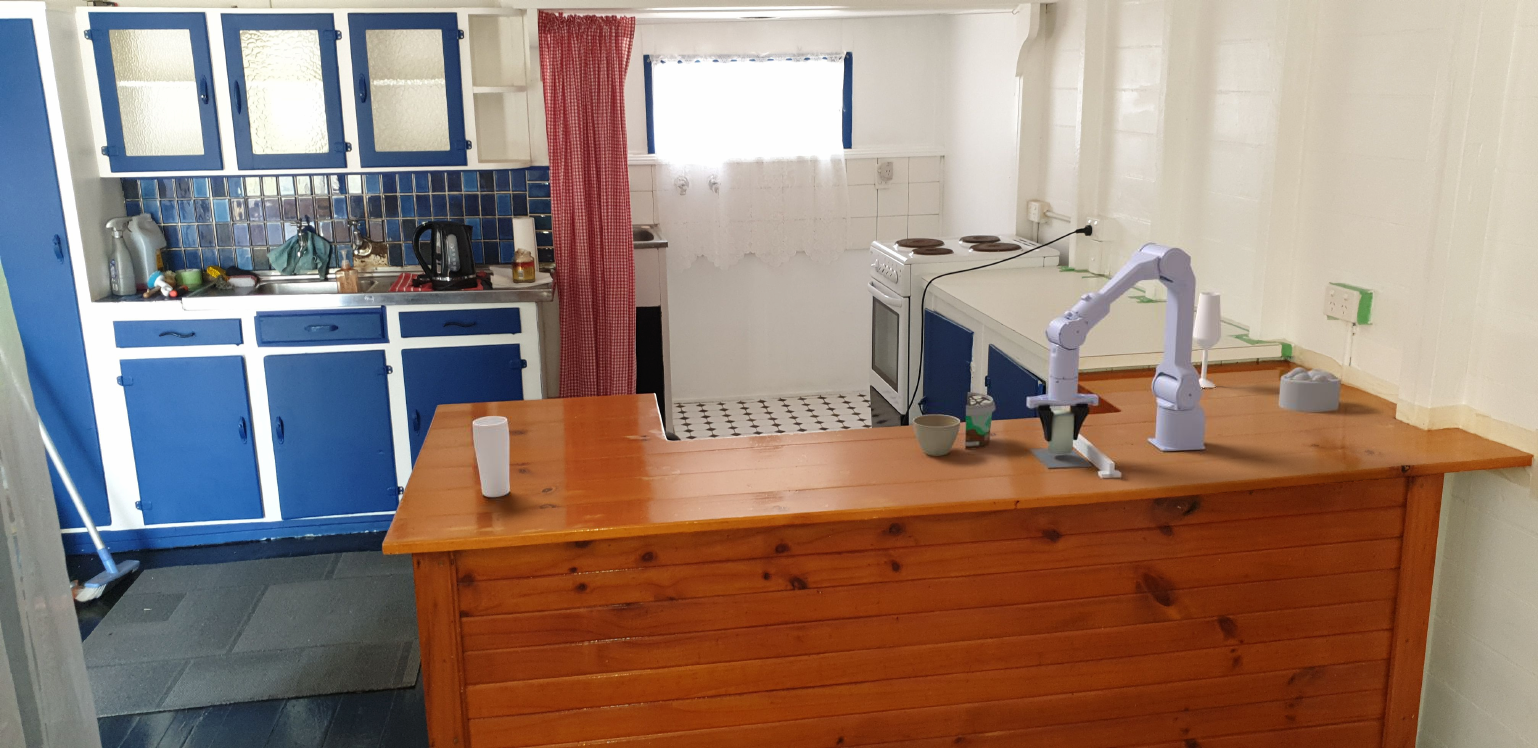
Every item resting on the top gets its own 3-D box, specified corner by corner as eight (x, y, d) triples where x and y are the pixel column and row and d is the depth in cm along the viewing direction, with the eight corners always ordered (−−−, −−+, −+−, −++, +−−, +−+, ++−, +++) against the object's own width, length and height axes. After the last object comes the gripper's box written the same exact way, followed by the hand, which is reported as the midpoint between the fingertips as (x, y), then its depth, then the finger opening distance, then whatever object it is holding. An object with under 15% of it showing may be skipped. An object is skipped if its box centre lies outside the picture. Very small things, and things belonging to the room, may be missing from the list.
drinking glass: (481, 488, 224) (475, 416, 220) (515, 486, 224) (510, 415, 220) (475, 500, 217) (469, 426, 213) (511, 498, 218) (505, 424, 214)
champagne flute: (1191, 388, 286) (1198, 295, 280) (1186, 382, 292) (1193, 291, 286) (1219, 389, 285) (1226, 296, 279) (1213, 382, 291) (1220, 291, 285)
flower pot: (965, 448, 242) (965, 416, 240) (951, 462, 233) (952, 429, 232) (920, 443, 246) (921, 411, 245) (906, 456, 238) (906, 424, 236)
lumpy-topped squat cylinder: (1344, 409, 264) (1348, 374, 262) (1295, 414, 262) (1298, 378, 260) (1315, 398, 274) (1318, 364, 272) (1267, 402, 272) (1270, 368, 270)
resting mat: (1071, 448, 240) (1071, 447, 240) (1091, 466, 228) (1091, 465, 228) (1030, 450, 239) (1030, 449, 239) (1048, 468, 228) (1048, 467, 228)
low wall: (1075, 438, 247) (1076, 425, 246) (1121, 477, 222) (1122, 462, 221) (1058, 439, 247) (1058, 426, 246) (1101, 478, 222) (1102, 463, 221)
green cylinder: (1067, 446, 236) (1069, 409, 234) (1076, 453, 231) (1077, 416, 229) (1044, 447, 236) (1046, 410, 234) (1052, 454, 231) (1054, 417, 229)
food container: (994, 452, 239) (995, 407, 237) (965, 451, 240) (965, 406, 238) (994, 435, 251) (995, 392, 248) (966, 434, 252) (967, 391, 250)
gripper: (1091, 370, 234) (1087, 432, 237) (1023, 372, 233) (1020, 435, 236) (1103, 378, 227) (1100, 442, 230) (1033, 381, 226) (1031, 445, 229)
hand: (1060, 439), depth 233 cm, fingers closed on green cylinder, 5 cm apart
